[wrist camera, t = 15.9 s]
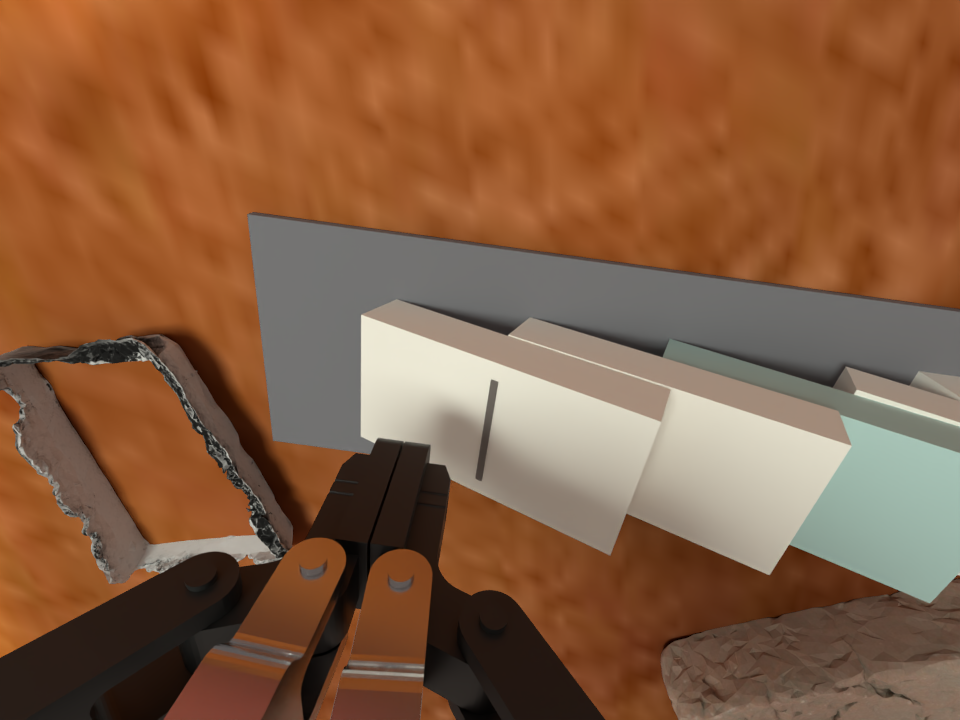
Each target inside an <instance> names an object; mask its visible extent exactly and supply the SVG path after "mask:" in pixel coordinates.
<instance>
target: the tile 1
mask: <svg viewBox="0 0 960 720" xmlns="http://www.w3.org/2000/svg"><path fill="white" fill-rule="evenodd" d="M670 391H671V390H670V389H667V388H664V387H661V386H658V385H655V384H652V383H649V382H646V381H643V380H640V379H637V378H633V377H630V376H627V375H624V374H621V373H618V372H615V371H612V370H609V369H606V368H603V367H600V366H597V365H594V364H591V363H588V362H585V361H582V360H579V359H576V358H573V357H570V356H567V355H564V354H561V353H558V352H555V351H552V350H549V349H546V348H543V347H540V346H537V345H534V344H531V343H528V342H525V341H522V340H519V339H516V338H513V337H510V336H506V335H503V334H500V333H497V332H494V331H491V330H488V329H485V328H482V327H479V326H476V325H473V324H470V323H467V322H464V321H461V320H458V319H455V318H452V317H449V316H446V315H443V314H440V313H437V312H434V311H431V310H428V309H425V308H422V307H419V306H416V305H413V304H410V303H407V302H404V301H401V300H398V299H396V300H394V301H392V302H389V303H387V304H385V305H382V306H380V307H378V308H375V309H373V310H371V311H368V312H366V313H364V314H362V315H361V437H363V438H365V439H367V440H369V441H371V442H373V443H375V442H376V440H377V438H384V439H392V440H399V441H404V443H405V441H407V442H414V443H422V444H429V445H431V450H430V461H429V463H432V464H439V465H446V468H447V471H448V473H449V476H450V479H451V480H453V481H455V482H457V483H459V484H461V485H463V486H465V487H467V488H470V489H472V490H474V491H476V492H478V493H480V494H482V495H484V496H486V497H488V498H491V499H493V500H495V501H497V502H499V503H501V504H503V505H505V506H507V507H509V508H511V509H514V510H516V511H518V512H520V513H522V514H524V515H526V516H528V517H530V518H532V519H535V520H537V521H539V522H541V523H543V524H545V525H547V526H549V527H551V528H553V529H555V530H558V531H560V532H562V533H564V534H566V535H568V536H570V537H572V538H574V539H576V540H579V541H581V542H583V543H585V544H587V545H589V546H591V547H593V548H595V549H597V550H599V551H602V552H604V553H606V554H608V555H611V552H612V550H613V547H614V544H615V542H616V539H617V537H618V534H619V531H620V529H621V526H622V523H623V521H624V518H625V515H626V513H627V510H628V508H629V505H630V502H631V500H632V497H633V494H634V492H635V489H636V487H637V484H638V481H639V479H640V476H641V473H642V471H643V468H644V466H645V463H646V460H647V458H648V455H649V452H650V450H651V447H652V445H653V442H654V439H655V437H656V434H657V431H658V429H659V426H660V423H661V421H662V417H663V414H664V411H665V407H666V404H667V401H668V397H669V394H670Z"/></svg>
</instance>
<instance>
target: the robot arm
mask: <svg viewBox="0 0 960 720" xmlns="http://www.w3.org/2000/svg"><path fill="white" fill-rule="evenodd" d="M430 450H431V445H429V444H422V443H414V442H407V441H405V443H404V441H399V440H392V439H384V438H377V440H376V442H375V444H374V447H373V449H372V451H371V454H370V455H365V454H358V453H356V454H354V455H353V456H352V457H351V458H350V459H349V460H347V461H346V462H345V463H344V464H343V465H342V467H341V469H340V471H339V473H338V475H337V477H336V479H335V482H334V483H333V485H332V487H331V489H330V492H329V494H328V495H327V497H326V499H325V501H324V503H323V505H322V507H321V509H320V511H319V513H318V515H317V517H316V519H315V521H314V523H313V526H312V528H311V530H310V532H309V534H308V536H307V537H306V539H305V540H304V541H302V542H300V543H298V544H296V545H295V546H293V547H292V548H291V549H290V550H289V551H288V552H287V553H286V554H285V555H284V557H283V558H282V559H280V560H277V561H274V562H269V563H264V564H257V565H250V566H244V567H239V564H238V562H237V560H236V559H235V558H234V557H233V556H231V555H230V554H227V553H224V552H217V551H213V552H205V553H201V554H198V555H195V556H193V557H191V558H189V559H187V560H185V561H183V562H181V563H179V564H177V565H175V566H173V567H172V568H170V569H168V570H166V571H164V572H162V573H160V574H158V575H156V576H155V577H153V578H151V579H149V580H147V581H145V582H143V583H141V584H139V585H138V586H136V587H134V588H132V589H130V590H128V591H126V592H124V593H122V594H120V595H119V596H117V597H115V598H113V599H111V600H109V601H107V602H105V603H103V604H102V605H100V606H98V607H96V608H94V609H92V610H90V611H88V612H86V613H85V614H83V615H81V616H79V617H77V618H75V619H73V620H71V621H69V622H67V623H66V624H64V625H62V626H60V627H58V628H56V629H54V630H52V631H50V632H49V633H47V634H45V635H43V636H41V637H39V638H37V639H35V640H33V641H32V642H30V643H28V644H26V645H24V646H22V647H20V648H18V649H16V650H14V651H13V652H11V653H9V654H7V655H5V656H3V657H1V658H0V720H316V718H317V715H318V713H319V710H320V708H321V705H322V703H323V700H324V698H325V695H326V693H327V690H328V688H329V685H330V683H331V680H332V678H333V675H334V672H335V670H336V667H337V665H338V662H339V660H340V657H341V655H342V652H343V650H344V647H345V645H346V642H347V638H348V629H349V627H350V624H351V620H352V617H353V614H354V611H355V608H357V609H361V611H360V615H359V620H358V624H357V629H356V633H355V637H354V642H353V646H352V650H351V655H350V659H349V662H348V665H347V666H345V667H344V669H343V672H342V675H341V678H340V682H339V685H338V690H337V694H336V698H335V702H334V706H333V711H332V715H331V719H330V720H420V714H421V703H422V692H423V686H425V687H426V688H428V689H430V690H432V691H433V692H435V693H437V694H439V695H440V696H442V697H444V698H446V699H447V700H448V702H449V706H450V708H451V711H452V713H453V714H454V716H455V718H456V720H605V719H604V718H603V716H602V715H601V714H600V712H599V711H598V710H597V708H596V707H595V706H594V704H593V703H592V702H591V700H590V699H589V698H588V696H587V695H586V694H585V692H584V691H583V690H582V688H581V687H580V686H579V684H578V683H577V682H576V680H575V679H574V678H573V676H572V675H571V674H570V672H569V671H568V670H567V669H566V667H565V666H564V665H563V663H562V662H561V661H560V659H559V658H558V657H557V655H556V654H555V653H554V651H553V650H552V649H551V647H550V646H549V645H548V643H547V642H546V641H545V639H544V638H543V637H542V635H541V634H540V633H539V631H538V630H537V629H536V627H535V626H534V625H533V623H532V622H531V621H530V619H529V618H528V617H527V616H526V614H525V613H524V612H523V610H522V609H521V608H520V606H519V605H518V604H517V603H516V602H515V601H514V600H513V599H512V598H511V597H509V596H508V595H506V594H504V593H501V592H498V591H493V590H486V591H481V592H478V593H475V594H473V595H472V596H471V595H469V594H467V593H465V592H463V591H461V590H459V589H457V588H455V587H453V586H452V585H451V584H449V583H448V582H447V581H446V580H445V579H444V577H443V576H442V574H441V572H440V570H439V567H438V563H439V557H440V551H441V545H442V539H443V533H444V527H445V521H446V514H447V506H448V497H449V489H450V481H451V479H450V476H449V473H448V471H447V468H446V465H439V464H432V463H429V461H430Z"/></svg>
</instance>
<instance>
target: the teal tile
mask: <svg viewBox="0 0 960 720" xmlns="http://www.w3.org/2000/svg"><path fill="white" fill-rule="evenodd" d="M663 358H666V359H669V360H673V361H676V362H679V363H682V364H686V365H689V366H692V367H696V368H699V369H702V370H705V371H709V372H712V373H715V374H719V375H722V376H725V377H728V378H732V379H735V380H738V381H742V382H745V383H748V384H751V385H755V386H758V387H761V388H765V389H768V390H771V391H774V392H778V393H781V394H784V395H788V396H791V397H794V398H797V399H801V400H804V401H807V402H811V403H814V404H817V405H820V406H824V407H827V408H830V409H834V410H837V411H839V414H840V416H841V419H842V421H843V424H844V427H845V429H846V432H847V434H848V437H849V440H850V442H851V445H852V447H851V448H850V450H849V451H848V453H847V454H846V456H845V458H844V459H843V461H842V462H841V464H840V465H839V467H838V469H837V470H836V472H835V473H834V475H833V476H832V478H831V480H830V481H829V483H828V484H827V486H826V487H825V489H824V491H823V492H822V494H821V495H820V497H819V498H818V500H817V502H816V503H815V505H814V506H813V508H812V509H811V511H810V513H809V514H808V516H807V517H806V519H805V520H804V522H803V524H802V525H801V527H800V528H799V530H798V531H797V533H796V535H795V536H794V538H793V539H792V541H791V542H790V544H789V545H792V546H794V547H796V548H799V549H801V550H804V551H806V552H808V553H811V554H813V555H816V556H818V557H820V558H823V559H825V560H827V561H830V562H832V563H835V564H837V565H839V566H842V567H844V568H847V569H849V570H851V571H854V572H856V573H859V574H861V575H863V576H866V577H868V578H870V579H873V580H875V581H878V582H880V583H882V584H885V585H887V586H890V587H892V588H894V589H897V590H899V591H901V592H904V593H906V594H909V595H911V596H913V597H916V598H918V599H921V600H923V601H925V602H928V603H931V602H932V601H933V600H934V599H935V598H936V597H937V596H938V594H939V593H940V592H941V591H942V590H943V589H944V588H945V587H946V586H947V585H948V584H949V583H950V582H951V581H952V580H953V579H954V578H955V577H956V576H957V575H958V574H959V573H960V426H956V425H953V424H950V423H946V422H943V421H940V420H937V419H933V418H930V417H927V416H923V415H920V414H917V413H913V412H910V411H907V410H904V409H900V408H897V407H894V406H890V405H887V404H884V403H880V402H877V401H874V400H871V399H867V398H864V397H861V396H857V395H854V394H851V393H848V392H844V391H841V390H838V389H834V388H831V387H828V386H824V385H821V384H818V383H815V382H811V381H808V380H805V379H801V378H798V377H795V376H791V375H788V374H785V373H782V372H778V371H775V370H772V369H768V368H765V367H762V366H758V365H755V364H752V363H749V362H745V361H742V360H739V359H735V358H732V357H729V356H726V355H722V354H719V353H716V352H712V351H709V350H706V349H702V348H699V347H696V346H693V345H689V344H686V343H683V342H679V341H676V340H673V339H669V342H668V344H667V347H666V350H665V352H664V355H663Z"/></svg>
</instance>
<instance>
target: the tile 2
mask: <svg viewBox="0 0 960 720" xmlns="http://www.w3.org/2000/svg"><path fill="white" fill-rule="evenodd" d="M508 336H510V337H513V338H516V339H519V340H522V341H525V342H528V343H531V344H534V345H537V346H540V347H543V348H546V349H549V350H552V351H555V352H558V353H561V354H564V355H567V356H570V357H573V358H576V359H579V360H582V361H585V362H588V363H591V364H594V365H597V366H600V367H603V368H606V369H609V370H612V371H615V372H618V373H621V374H624V375H627V376H630V377H633V378H637V379H640V380H643V381H646V382H649V383H652V384H655V385H658V386H661V387H664V388H667V389H670V390H671V391H670V394H669V397H668V401H667V404H666V407H665V411H664V414H663V417H662V421H661V423H660V426H659V429H658V431H657V434H656V437H655V439H654V442H653V445H652V447H651V450H650V452H649V455H648V458H647V460H646V463H645V466H644V468H643V471H642V473H641V476H640V479H639V481H638V484H637V487H636V489H635V492H634V494H633V497H632V500H631V502H630V505H629V508H628V510H627V513H626V514H629V515H631V516H633V517H636V518H638V519H640V520H643V521H645V522H647V523H649V524H652V525H654V526H656V527H659V528H661V529H663V530H666V531H668V532H670V533H673V534H675V535H677V536H680V537H682V538H684V539H687V540H689V541H691V542H693V543H696V544H698V545H700V546H703V547H705V548H707V549H710V550H712V551H714V552H717V553H719V554H721V555H724V556H726V557H728V558H731V559H733V560H735V561H737V562H740V563H742V564H744V565H747V566H749V567H751V568H754V569H756V570H758V571H761V572H763V573H765V574H768V575H770V574H771V572H772V571H773V569H774V567H775V566H776V564H777V563H778V561H779V560H780V558H781V556H782V555H783V553H784V552H785V550H786V549H787V547H788V546H789V544H790V542H791V541H792V539H793V538H794V536H795V535H796V533H797V531H798V530H799V528H800V527H801V525H802V524H803V522H804V520H805V519H806V517H807V516H808V514H809V513H810V511H811V509H812V508H813V506H814V505H815V503H816V502H817V500H818V498H819V497H820V495H821V494H822V492H823V491H824V489H825V487H826V486H827V484H828V483H829V481H830V480H831V478H832V476H833V475H834V473H835V472H836V470H837V469H838V467H839V465H840V464H841V462H842V461H843V459H844V458H845V456H846V454H847V453H848V451H849V450H850V448H851V447H852V445H851V442H850V440H849V437H848V434H847V432H846V429H845V427H844V424H843V421H842V419H841V416H840V414H839V411H837V410H834V409H830V408H827V407H824V406H820V405H817V404H814V403H811V402H807V401H804V400H801V399H797V398H794V397H791V396H788V395H784V394H781V393H778V392H774V391H771V390H768V389H765V388H761V387H758V386H755V385H751V384H748V383H745V382H742V381H738V380H735V379H732V378H728V377H725V376H722V375H719V374H715V373H712V372H709V371H705V370H702V369H699V368H696V367H692V366H689V365H686V364H682V363H679V362H676V361H673V360H669V359H666V358H663V357H659V356H656V355H653V354H649V353H646V352H643V351H640V350H636V349H633V348H630V347H626V346H623V345H620V344H617V343H613V342H610V341H607V340H603V339H600V338H597V337H594V336H590V335H587V334H584V333H580V332H577V331H574V330H571V329H567V328H564V327H561V326H557V325H554V324H551V323H548V322H544V321H541V320H538V319H534V318H531V317H530V318H529V319H527V320H526V321H525V322H524V323H522V324H521V325H520V326H519V327H517V328H516V329H515V330H514V331H512V332H511V333H510V334H509V335H508Z"/></svg>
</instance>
